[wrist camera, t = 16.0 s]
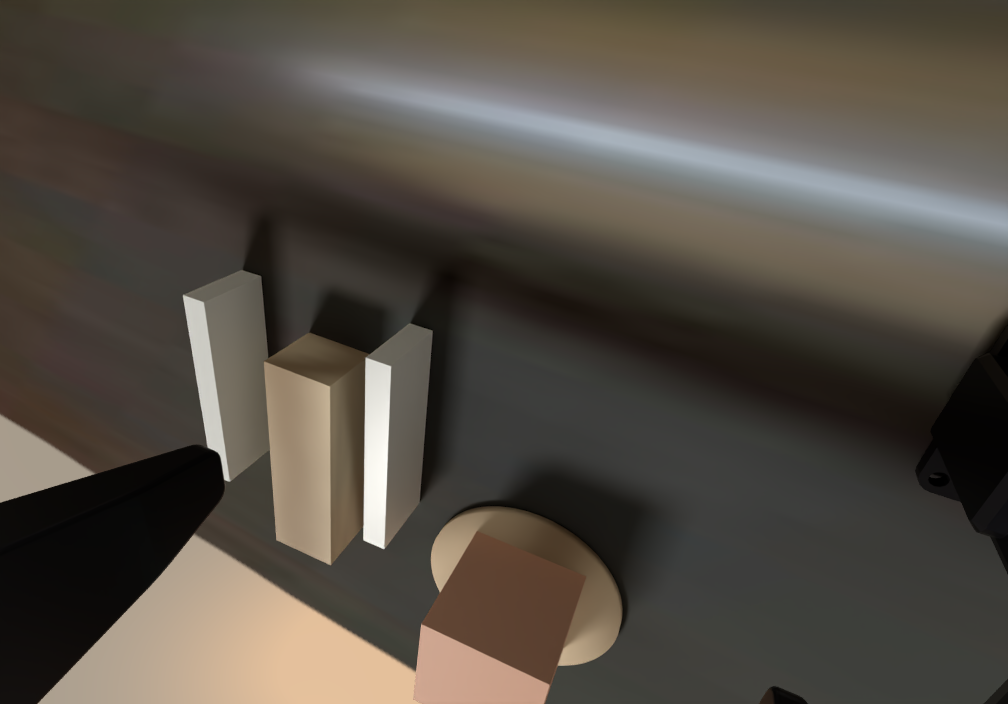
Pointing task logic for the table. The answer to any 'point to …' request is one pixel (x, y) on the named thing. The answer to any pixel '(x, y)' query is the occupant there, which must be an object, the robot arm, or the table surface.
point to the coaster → (551, 542)
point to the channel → (243, 405)
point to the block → (496, 628)
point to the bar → (317, 444)
